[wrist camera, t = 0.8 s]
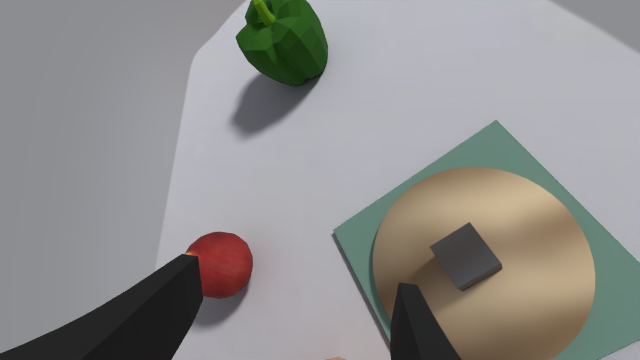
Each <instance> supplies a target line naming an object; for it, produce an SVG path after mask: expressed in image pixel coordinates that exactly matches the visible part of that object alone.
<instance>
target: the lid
mask: <svg viewBox="0 0 640 360" xmlns="http://www.w3.org/2000/svg"><path fill="white" fill-rule="evenodd" d="M373 273H374V279H375V284H376V288H377V291H378V295H379V298H380V300H381V302H382V305H383V307H384V309H385V311H386V313H387V314H388V316H389V318H390V319H392V314H393V309H394V304H395V299H396V294H397V289H398V284H399V282H400V283H407V284H415V285H417V286H418V287H419V288H420V290H421V292H422V294H423V296H424V298H425V300H426V302H427V304H428V306H429V308H430V309H431V311H432V313H433V315H434V317H435V318H436V320H437V322H438V323H439V325H440V327H441V328H442V330H443V332H444V333H445V335H446V336H447V338H448V340H449V341H450V343H451V344H452V346H453V347H454V349H455V350H456V352H457V353H458V355H459V356H460V358H461V359H462V360H551V359H553V358H554V357H556V356H557V355H558V354H560V353H561V352H562V351H563V350H564V349H566V348H567V347H568V346H569V345H570V344H571V342H572V341H573V340H574V339H575V338H576V337H577V335H578V334H579V333H580V331H581V329H582V327H583V326H584V324H585V322H586V321H587V318H588V315H589V313H590V310H591V307H592V304H593V298H594V293H595V269H594V261H593V257H592V254H591V250H590V247H589V244H588V242H587V239H586V237H585V235H584V233H583V231H582V229H581V227H580V226H579V224H578V223H577V221H576V220H575V218H574V217H573V215H572V214H571V213H570V212H569V211H568V210H567V208H566V207H565V206H564V205H563V204H562V203H561V202H560V201H559V200H558V199H556V198H555V197H554V196H553V195H552V194H551V193H549V192H548V191H546V190H545V189H544V188H542V187H541V186H539V185H537V184H535V183H534V182H532V181H530V180H528V179H526V178H524V177H521V176H519V175H516V174H514V173H510V172H507V171H503V170H499V169H493V168H486V167H463V168H456V169H450V170H446V171H442V172H439V173H436V174H433V175H431V176H429V177H427V178H424V179H423V180H421V181H419V182H417V183H416V184H414V185H413V186H411V187H410V188H409V189H408V190H406V191H405V192H404V193H403V194H402V195H401V196H400V197H399V198H398V199H397V200H396V201H395V202H394V203H393V205H392V206H391V207H390V208H389V210H388V212H387V213H386V215H385V217H384V218H383V220H382V223H381V225H380V227H379V230H378V233H377V236H376V239H375V245H374V250H373Z"/></svg>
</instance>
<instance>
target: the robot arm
mask: <svg viewBox="0 0 640 360" xmlns="http://www.w3.org/2000/svg"><path fill="white" fill-rule="evenodd" d="M202 301H203V292H202V284H201V276H200V267H199V259H198V256H194V255H187V254H181V255H180V256H178V257H176V258H175V259H173V260H172V261H170V262H169V263H167V264H166V265H164V266H163V267H161V268H160V269H158V270H157V271H155V272H154V273H153V274H151V275H150V276H148V277H147V278H145V279H143V280H142V281H140V282H139V283H137V284H136V285H134V286H133V287H131V288H130V289H128V290H127V291H125V292H123V293H122V294H120V295H118V296H117V297H115V298H113V299H112V300H110V301H108V302H107V303H105V304H103V305H102V306H100V307H98V308H96V309H95V310H93V311H91V312H89V313H87V314H86V315H84V316H82V317H80V318H78V319H76V320H74V321H72V322H70V323H68V324H66V325H64V326H62V327H60V328H58V329H56V330H54V331H52V332H49V333H47V334H45V335H43V336H40V337H38V338H36V339H34V340H32V341H29V342H27V343H25V344H23V345H20V346H18V347H16V348H13V349H11V350H8V351H6V352H3V353H0V360H171V359H172V358H173V356H174V354H175V353H176V351H177V349H178V348H179V346H180V344H181V343H182V341H183V339H184V337H185V336H186V334H187V332H188V331H189V329H190V327H191V325H192V323H193V321H194V319H195V317H196V315H197V312H198V310H199V308H200V305H201V303H202ZM390 347H391V360H462V359H461V358H460V356H459V355H458V353H457V352H456V350H455V349H454V347H453V346H452V344H451V343H450V341H449V340H448V338H447V336H446V335H445V333H444V332H443V330H442V328H441V327H440V325H439V323H438V322H437V320H436V318H435V317H434V315H433V313H432V311H431V309H430V308H429V306H428V304H427V302H426V300H425V298H424V296H423V294H422V292H421V290H420V288H419V287H418V286H417V285H415V284H407V283H400V282H399V284H398V289H397V294H396V299H395V304H394V309H393V314H392V319H391V324H390Z"/></svg>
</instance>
